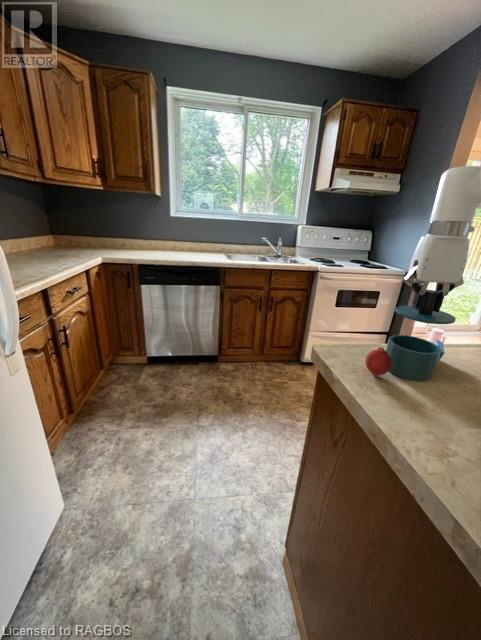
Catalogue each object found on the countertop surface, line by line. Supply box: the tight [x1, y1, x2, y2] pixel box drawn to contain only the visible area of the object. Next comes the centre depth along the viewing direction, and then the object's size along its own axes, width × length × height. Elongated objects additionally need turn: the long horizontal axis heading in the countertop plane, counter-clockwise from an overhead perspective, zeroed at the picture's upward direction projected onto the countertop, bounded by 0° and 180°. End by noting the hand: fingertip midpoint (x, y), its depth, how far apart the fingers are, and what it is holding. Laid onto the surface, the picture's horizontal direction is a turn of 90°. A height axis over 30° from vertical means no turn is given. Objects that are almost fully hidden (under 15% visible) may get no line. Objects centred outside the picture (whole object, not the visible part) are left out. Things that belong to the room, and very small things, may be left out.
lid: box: [394, 289, 457, 325], centre depth 65 cm, size 12×12×7 cm
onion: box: [364, 346, 392, 377], centre depth 67 cm, size 6×6×8 cm
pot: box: [385, 334, 441, 382], centre depth 70 cm, size 11×11×8 cm
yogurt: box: [434, 339, 445, 364], centre depth 74 cm, size 12×2×6 cm, turn 145°
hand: (425, 309), depth 66 cm, fingers closed on lid, 3 cm apart
